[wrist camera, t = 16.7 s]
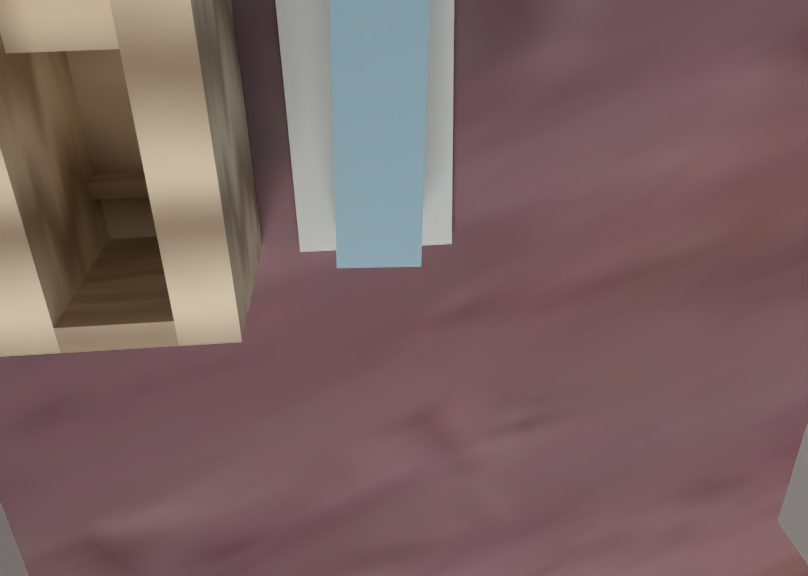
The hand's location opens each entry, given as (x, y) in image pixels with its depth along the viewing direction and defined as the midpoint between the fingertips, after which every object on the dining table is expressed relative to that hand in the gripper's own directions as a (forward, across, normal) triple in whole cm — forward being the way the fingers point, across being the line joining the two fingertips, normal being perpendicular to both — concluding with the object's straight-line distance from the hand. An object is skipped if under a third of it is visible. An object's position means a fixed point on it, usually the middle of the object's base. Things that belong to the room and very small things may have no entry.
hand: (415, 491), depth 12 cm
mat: (+27, 0, -1) cm, 27 cm away
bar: (+26, +1, +1) cm, 27 cm away
